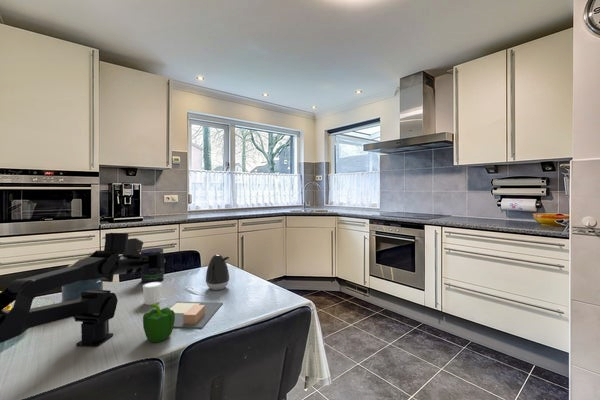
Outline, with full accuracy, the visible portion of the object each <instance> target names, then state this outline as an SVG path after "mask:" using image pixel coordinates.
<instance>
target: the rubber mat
mask: <svg viewBox="0 0 600 400" xmlns="http://www.w3.org/2000/svg"><path fill="white" fill-rule="evenodd" d="M223 304H224V303H223V302H215V301H213V302H211V301H210V302H209V301H208V302H207V301H176V302H175V303H174V304H173V305H171V306H170V307H168V308H169V309H171V310H173V311H174V313H175V321H174V326H173V329H174V328H175V329H203V328H204V327H205V325H206V324H207V323H208V322H209V321H210V320H211V318H213V316H214V315H215V314H216V312H218V310H219V309H220V308H221V306H222V305H223ZM193 305H205V314H204V315H203V316H202V317H201V319H200V320H199V321H198V322H197V323H196V324H183V314H185V313H186V312H187V311H188V310H189V309H190V308H191V307H192V306H193Z"/></svg>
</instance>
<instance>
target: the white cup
mask: <svg viewBox="0 0 600 400" xmlns="http://www.w3.org/2000/svg"><path fill="white" fill-rule="evenodd" d="M162 287H163V282H151V283H147V284H142V292H143V300H144V301H143V302H144V304H145V305H148V306H151V304H157V305H158V304H159V303H160V302H162V289H163V288H162Z"/></svg>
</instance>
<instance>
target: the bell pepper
mask: <svg viewBox="0 0 600 400" xmlns="http://www.w3.org/2000/svg"><path fill="white" fill-rule="evenodd" d="M150 307H151V308H152V309H151V310H150V311H148V312H145V313H144V314H143V317H142V324H143V325H142V326H143V331H144V334H145V337H146V338H147V339H148V340H149V341H150V342H151V343H161V342H164V341H165V340H166V339H167V338H168V337H170V336H171V335H172V333H173V331H174V330H173V329H174V328H173V326H174V321H175V313H174V311H173V310H171V309H169V308H170V307H164V308H162V309H161V307H160V306H159V305H158V303H157V304H151V305H150Z"/></svg>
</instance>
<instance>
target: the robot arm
mask: <svg viewBox="0 0 600 400" xmlns="http://www.w3.org/2000/svg"><path fill="white" fill-rule="evenodd" d="M129 234H130V233H127V232H124V233H123V232H106V233H105V235H104V236H105V237H104V248H103V250H95V251H93V253H91V254H90V255H89V256H86V257H83V258H84V259H82V260H79V259H78V260H77V261H76V262H74V263H75V264H74V263H73V264H74V265H72V266H70V267H68V266H66V267H63V268H58V269H55V270H51V271H48V272H44V273H41V274H37V275H33V276H28V277H24V278H17V279H14V280H12V281H10V282H9V283H8V284H7V285H6V286H5V287H4V289H3V290H2V291H1V292H0V344H2V343H5V342H7V341H9V340H12V339H14V338H16V337H20V336H21V335H22V334H23V333H25V332H26V331H28V330H29V329H31V328H35V327H39V326H42V325H46V324H50V323H53V322H58V321H62V320H66V319H70V318H73V319H74V322H79V323H81V324H80V329H81V330H80V333H81V338H80V339H81V340H80V341H77V343H76V346H78V347H79V346H83V347H98V346H101V345H102V344H103V343H105V342H106V341H107V340H109V339H110V338H112V337H113V336H114V332H113V333H112V332H110V327H109V326H110V325H109V324H110V323H109V320H112V319H113V318H114V317H115V313H116V310H117V306H118V298H117V297H118V296H117V294H116V293H115V292H111V290H107V289H103V290H95V289H91V290H90V291H86V292H85V291H81V297H80V298H78V299H76V300H71V301H66V302H62V301H61V302H57V303H51V304H46V305H41V306H36V307H32V304H33V300H34V299H35V298H36V296H37V295H38V294H43V293H45V292H49V291H52V290H55V289H57V288H62V287H61V286H64V285H67V284H70V283H74V282H77V281H80V280H90V279H99V278H101V281H102V282H103V283H112V282H113V281H114V276H117V275H124V274H132V273H137V272H138V273H141V271H142V267H143V264H149V270H150V271H158V270H165V263H166V262H167V261H166V258H165V253H164V251H163V252H154V253H150V254H149V256H148V257H144V258H142V257H143V253H142V254H141V251H142V250H143V249H142V248H143V246H144V241H142V240H140V239H138V238H135V237H134V238H129ZM144 260H149V261H144ZM13 302H14V303H13ZM12 303H13V306H12V308H11V309H10V310H9V309H8V310H7V309H5V308H7V307H8V306H9V305H11V304H12ZM31 307H32V308H31Z"/></svg>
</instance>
